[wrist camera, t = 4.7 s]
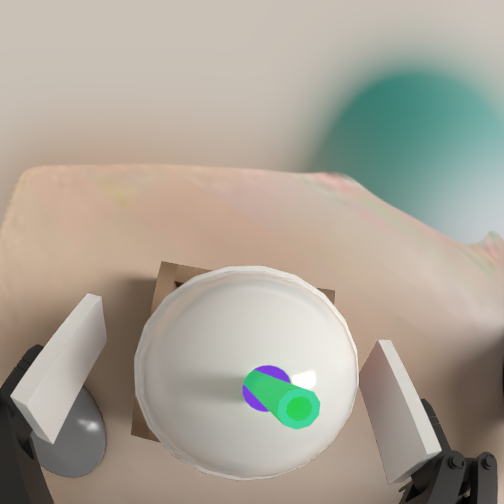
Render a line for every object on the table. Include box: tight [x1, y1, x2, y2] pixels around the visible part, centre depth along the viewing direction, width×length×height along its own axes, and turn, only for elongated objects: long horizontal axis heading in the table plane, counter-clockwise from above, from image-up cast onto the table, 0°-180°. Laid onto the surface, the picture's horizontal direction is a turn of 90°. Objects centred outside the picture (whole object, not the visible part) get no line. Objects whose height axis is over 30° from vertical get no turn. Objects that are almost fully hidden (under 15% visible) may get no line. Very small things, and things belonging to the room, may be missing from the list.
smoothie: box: [134, 265, 359, 481], centre depth 13 cm, size 8×8×20 cm
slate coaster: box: [30, 386, 107, 478], centre depth 17 cm, size 11×11×1 cm
